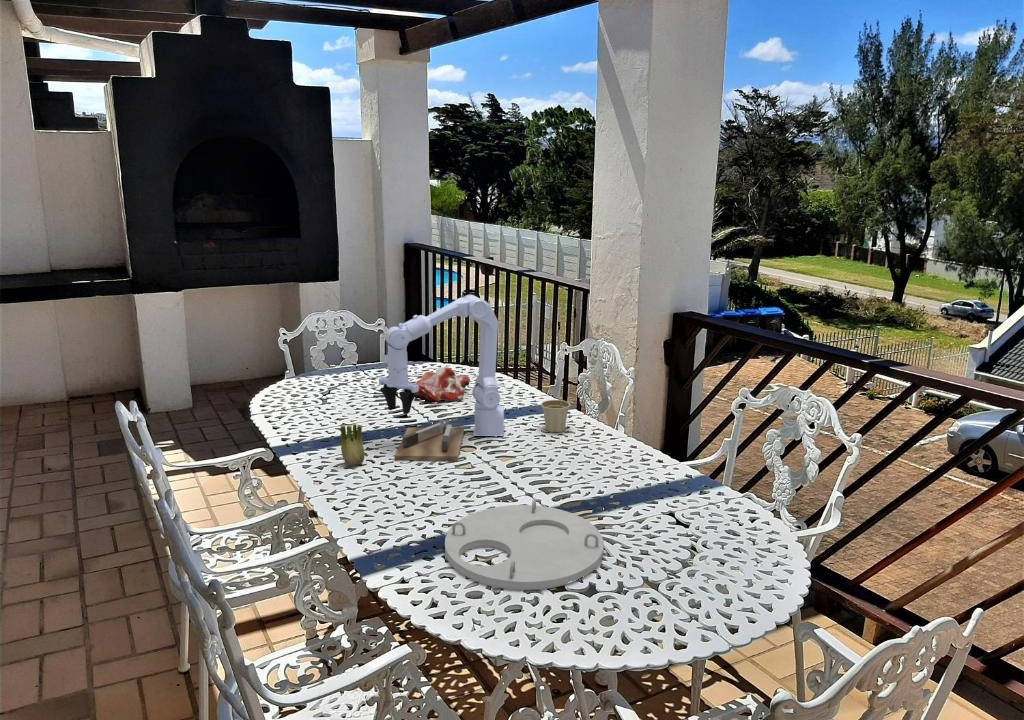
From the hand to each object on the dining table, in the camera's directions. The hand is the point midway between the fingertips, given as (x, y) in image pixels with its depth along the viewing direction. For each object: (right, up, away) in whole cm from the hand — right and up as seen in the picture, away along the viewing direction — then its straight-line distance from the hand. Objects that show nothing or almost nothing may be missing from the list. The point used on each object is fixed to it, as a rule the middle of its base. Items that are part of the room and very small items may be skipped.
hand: (399, 411), depth 219 cm
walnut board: (+10, -11, +1) cm, 14 cm away
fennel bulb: (-11, -14, -13) cm, 22 cm away
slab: (+37, -26, -58) cm, 74 cm away
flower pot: (+48, -7, +16) cm, 51 cm away
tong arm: (+8, -8, +2) cm, 12 cm away
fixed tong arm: (+15, -9, -1) cm, 17 cm away
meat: (+8, +2, +51) cm, 52 cm away
